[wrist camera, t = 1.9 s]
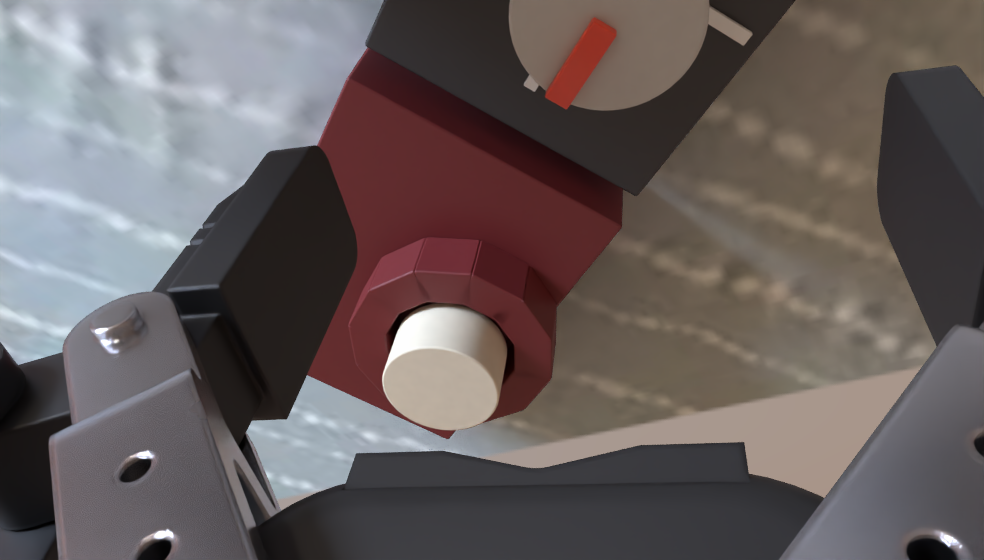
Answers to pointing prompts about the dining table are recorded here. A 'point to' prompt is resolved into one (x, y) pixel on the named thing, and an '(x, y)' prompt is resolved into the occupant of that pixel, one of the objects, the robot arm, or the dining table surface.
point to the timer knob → (607, 47)
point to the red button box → (452, 228)
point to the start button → (446, 367)
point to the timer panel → (521, 101)
